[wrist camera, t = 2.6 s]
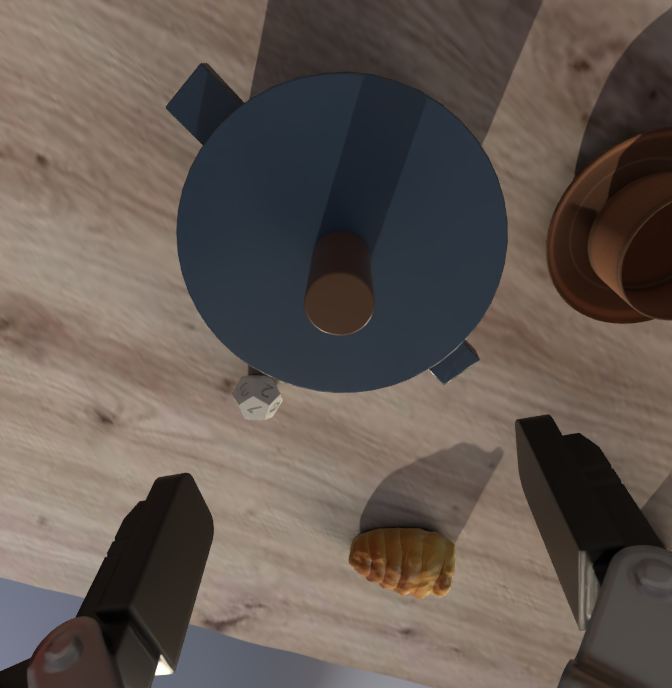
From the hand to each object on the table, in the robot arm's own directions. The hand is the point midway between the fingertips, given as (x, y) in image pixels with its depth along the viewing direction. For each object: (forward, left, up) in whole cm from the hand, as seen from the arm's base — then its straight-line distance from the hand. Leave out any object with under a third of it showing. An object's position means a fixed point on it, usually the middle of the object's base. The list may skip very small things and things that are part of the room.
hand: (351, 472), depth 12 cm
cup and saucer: (+17, +5, -23) cm, 29 cm away
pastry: (+14, -28, -23) cm, 39 cm away
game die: (-3, -14, -23) cm, 27 cm away
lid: (-1, +1, -13) cm, 13 cm away
